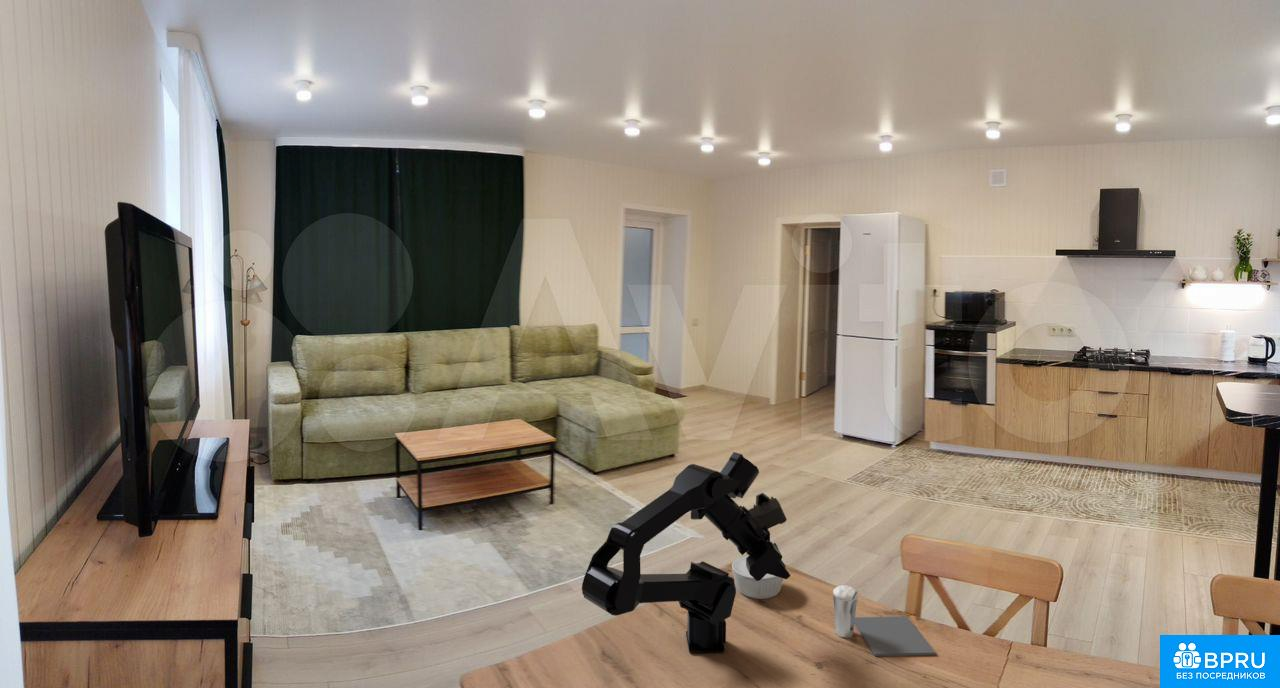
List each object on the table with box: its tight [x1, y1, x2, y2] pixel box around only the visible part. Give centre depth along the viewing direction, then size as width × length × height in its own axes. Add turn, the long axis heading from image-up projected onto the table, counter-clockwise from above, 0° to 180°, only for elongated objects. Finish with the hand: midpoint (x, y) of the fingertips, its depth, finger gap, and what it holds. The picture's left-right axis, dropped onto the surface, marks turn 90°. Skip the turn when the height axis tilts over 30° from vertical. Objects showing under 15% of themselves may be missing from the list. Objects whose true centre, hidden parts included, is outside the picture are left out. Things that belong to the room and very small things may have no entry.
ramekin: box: [731, 554, 784, 600], centre depth 142 cm, size 11×11×5 cm
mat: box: [854, 616, 936, 657], centre depth 124 cm, size 11×12×1 cm
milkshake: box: [832, 584, 859, 639], centre depth 124 cm, size 5×5×10 cm
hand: (786, 572), depth 123 cm, fingers open, 3 cm apart
